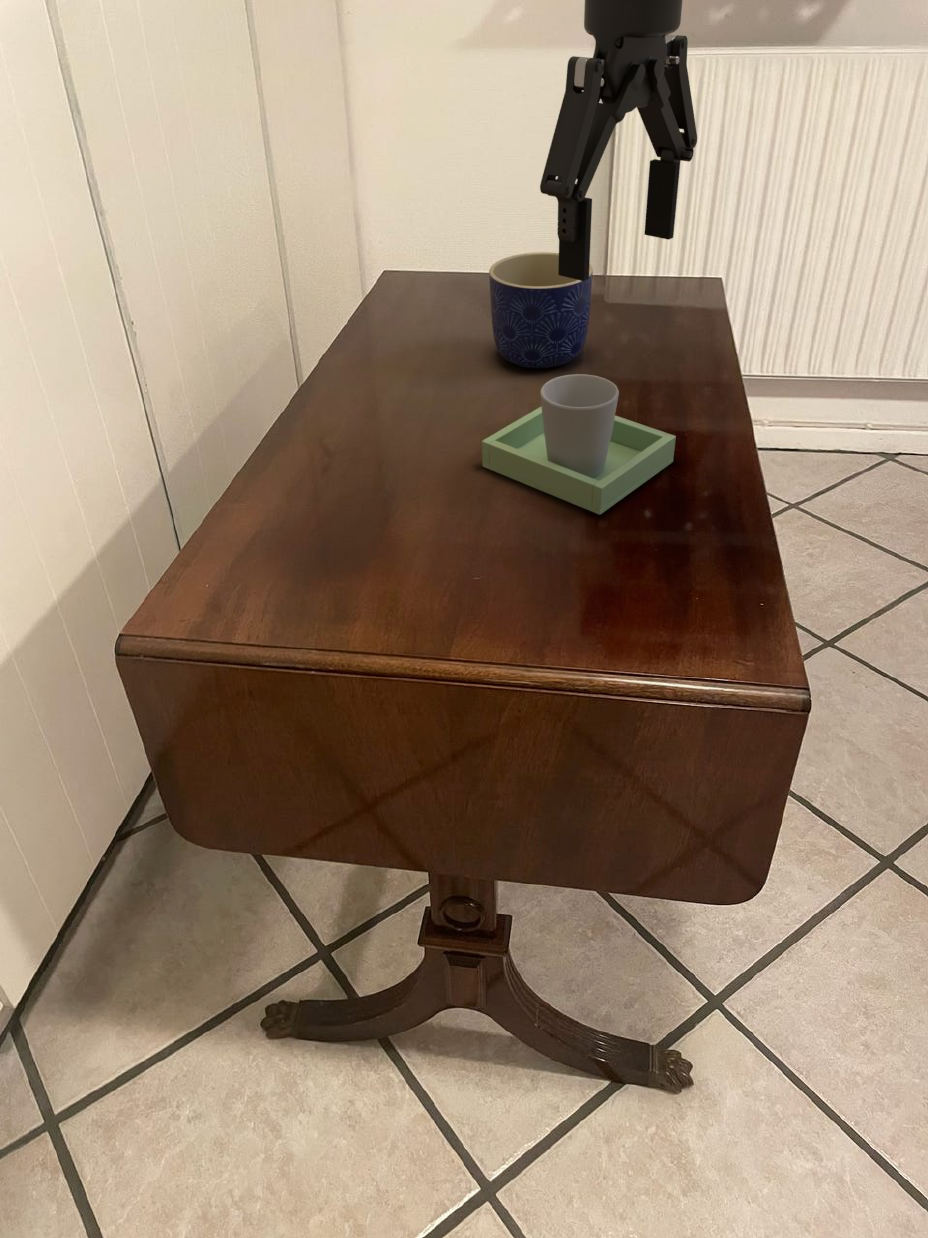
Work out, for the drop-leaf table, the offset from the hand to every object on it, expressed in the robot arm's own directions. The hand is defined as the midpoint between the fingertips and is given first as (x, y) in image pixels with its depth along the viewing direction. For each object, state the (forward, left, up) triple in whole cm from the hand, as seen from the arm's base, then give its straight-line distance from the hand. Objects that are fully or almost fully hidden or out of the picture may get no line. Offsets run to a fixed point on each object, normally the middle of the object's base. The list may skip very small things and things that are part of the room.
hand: (618, 256), depth 86 cm
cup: (+2, +3, -21) cm, 21 cm away
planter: (+22, -17, -21) cm, 35 cm away
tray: (+2, +2, -21) cm, 21 cm away
